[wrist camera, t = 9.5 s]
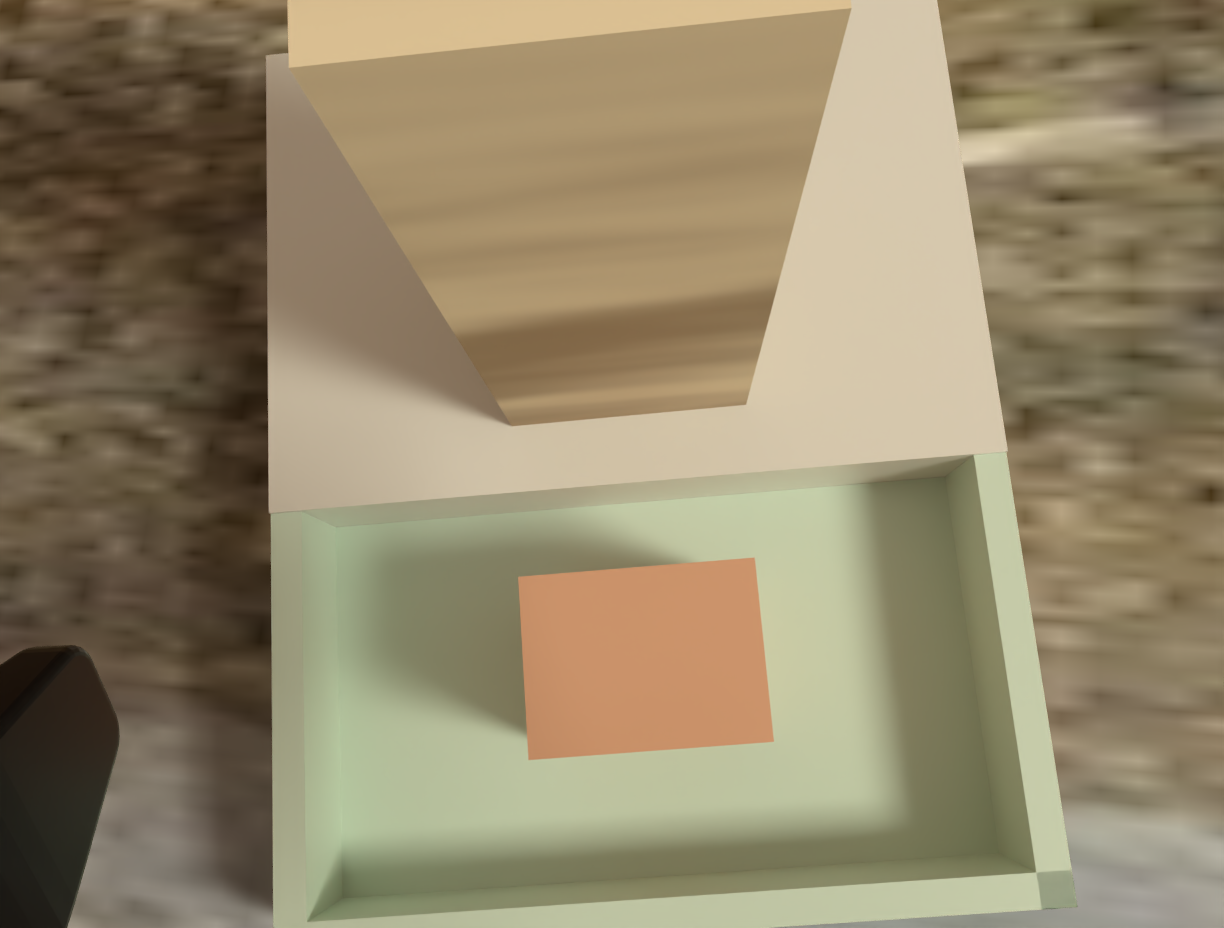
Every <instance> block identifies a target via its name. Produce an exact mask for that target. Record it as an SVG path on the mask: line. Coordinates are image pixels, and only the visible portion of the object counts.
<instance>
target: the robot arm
mask: <svg viewBox="0 0 1224 928" xmlns="http://www.w3.org/2000/svg"><path fill="white" fill-rule="evenodd" d="M119 738H120V735H119V724H118V720H117V716H116V714H115V711H114V709H113V707H112V704H111V702H110V700H109V697H108V695H107V693H106V691H105V688H104V686H103V684H102V681H101V679H100V677H99V674H98V672H97V670H96V668H95V665H94V663H93V661H92V659H91V657H90V655H89V654H88V653H87V652H86V651H85V650H84V649H82V648H81V647H77V646H73V645H67V646H44V647H33V648H28V649H25V650H23V651H21V652H19V653H18V654H16V655H15V656H13V657H12V658H10V659H9V660H7V661H6V662H4V663H3V664H1V665H0V928H67V926H68V923H69V920H70V917H71V913H72V910H73V907H74V904H75V901H76V897H77V894H78V890H79V887H80V883H81V880H82V876H83V872H84V869H85V865H86V862H87V858H88V855H89V851H90V848H91V844H92V840H93V837H94V833H95V830H96V826H97V823H98V819H99V816H100V812H101V809H102V805H103V801H104V798H105V794H106V791H107V787H108V784H109V780H110V777H111V773H112V769H113V766H114V762H115V759H116V755H117V751H118V747H119Z"/></svg>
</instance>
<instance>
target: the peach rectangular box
mask: <svg viewBox="0 0 1224 928" xmlns="http://www.w3.org/2000/svg"><path fill="white" fill-rule="evenodd" d="M518 584H519V601H520V619H521V637H522V654H523V672H524V690H525V707H526V725H527V743H528V760H537V759H551V758H564V757H577V756H591V755H604V754H618V753H631V752H644V751H658V750H671V749H685V748H698V747H711V746H725V745H738V744H752V743H765V742H774V737H773V728H772V718H771V709H770V699H769V689H768V680H767V670H766V661H765V651H764V641H763V632H762V622H761V613H760V603H759V593H758V584H757V574H756V565H755V558H742V559H730V560H718V561H706V562H693V563H681V564H669V565H657V566H644V567H632V568H620V569H607V570H595V571H583V572H571V573H558V574H546V575H534V576H522V577H518Z"/></svg>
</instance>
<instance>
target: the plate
mask: <svg viewBox="0 0 1224 928" xmlns="http://www.w3.org/2000/svg"><path fill="white" fill-rule="evenodd" d="M851 7H852V9H851V13H850V16H849V20H848V24H847V28H846V31H845V35H844V39H843V43H842V46H841V50H840V54H839V58H838V61H837V65H836V69H835V73H834V76H833V80H832V84H831V88H830V91H829V95H828V99H827V103H826V106H825V110H824V114H823V118H822V121H821V125H820V129H819V133H818V136H817V140H816V144H815V148H814V152H813V155H812V159H811V163H810V167H809V170H808V174H807V178H806V182H805V185H804V189H803V193H802V197H801V200H800V204H799V208H798V212H797V215H796V219H795V223H794V227H793V230H792V234H791V238H790V242H789V245H788V249H787V253H786V257H785V260H784V264H783V268H782V272H781V275H780V279H779V283H778V287H777V290H776V294H775V298H774V302H773V305H772V309H771V313H770V317H769V320H768V324H767V328H766V332H765V335H764V339H763V343H762V347H761V351H760V354H759V358H758V362H757V366H756V369H755V373H754V377H753V381H752V384H751V388H750V392H749V396H748V399H747V403H746V405H738V406H728V407H717V408H706V409H695V410H684V411H673V412H662V413H652V414H641V415H630V416H619V417H608V418H597V419H586V420H576V421H565V422H554V423H543V424H532V425H521V426H511V424H510V422H509V421H508V419H507V418H506V416H505V414H504V413H503V411H502V410H501V408H500V406H499V405H498V403H497V402H496V400H495V398H494V397H493V395H492V394H491V392H490V390H489V389H488V387H487V386H486V384H485V382H484V381H483V379H482V377H481V376H480V374H479V373H478V371H477V369H476V368H475V366H474V365H473V363H472V361H471V360H470V358H469V357H468V355H467V353H466V352H465V350H464V349H463V347H462V345H461V344H460V342H459V341H458V339H457V337H456V336H455V334H454V332H453V331H452V329H451V328H450V326H449V324H448V323H447V321H446V320H445V318H444V316H443V315H442V313H441V312H440V310H439V308H438V307H437V305H436V304H435V302H434V300H433V299H432V297H431V296H430V294H429V292H428V291H427V289H426V287H425V286H424V284H423V283H422V281H421V279H420V278H419V276H418V275H417V273H416V271H415V270H414V268H413V267H412V265H411V263H410V262H409V260H408V259H407V257H406V255H405V254H404V252H403V251H402V249H401V247H400V246H399V244H398V242H397V241H396V239H395V238H394V236H393V234H392V233H391V231H390V230H389V228H388V226H387V225H386V223H385V222H384V220H383V218H382V217H381V215H380V214H379V212H378V210H377V209H376V207H375V206H374V204H373V202H372V201H371V199H370V197H369V196H368V194H367V193H366V191H365V189H364V188H363V186H362V185H361V183H360V181H359V180H358V178H357V177H356V175H355V173H354V172H353V170H352V169H351V167H350V165H349V164H348V162H347V161H346V159H345V157H344V156H343V154H342V152H341V151H340V149H339V148H338V146H337V144H336V143H335V141H334V140H333V138H332V136H331V135H330V133H329V132H328V130H327V128H326V127H325V125H324V124H323V122H322V120H321V119H320V117H319V116H318V114H317V112H316V111H315V109H314V107H313V106H312V104H311V103H310V101H309V99H308V98H307V96H306V95H305V93H304V91H303V90H302V88H301V87H300V85H299V83H298V82H297V80H296V79H295V77H294V75H293V74H292V72H291V70H290V69H289V53H285V54H275V55H266V131H267V303H268V475H269V513H270V514H276V513H288V512H300V511H302V512H304V513H306V514H308V515H310V516H313V517H315V518H317V519H319V520H321V521H323V522H325V523H328V524H330V525H332V526H334V527H345V526H357V525H369V524H381V523H393V522H405V521H417V520H429V519H442V518H454V517H466V516H478V515H490V514H502V513H514V512H526V511H538V510H550V509H562V508H574V507H586V506H598V505H610V504H623V503H635V502H647V501H659V500H671V499H683V498H695V497H707V496H719V495H731V494H743V493H755V492H767V491H779V490H792V489H804V488H816V487H828V486H840V485H852V484H864V483H876V482H888V481H900V480H912V479H924V478H936V477H946V476H947V475H948V474H950V473H951V472H952V471H953V470H955V469H956V468H957V467H959V466H960V465H961V464H963V463H964V462H965V461H967V460H968V459H969V458H971V457H972V456H973V455H982V454H994V453H1006V452H1007V451H1008V450H1007V443H1006V437H1005V431H1004V424H1003V418H1002V411H1001V405H1000V399H999V392H998V386H997V380H996V373H995V367H994V361H993V354H992V348H991V341H990V335H989V329H988V322H987V316H986V310H985V303H984V297H983V291H982V284H981V278H980V271H979V265H978V259H977V252H976V246H975V240H974V233H973V227H972V221H971V214H970V208H969V201H968V195H967V189H966V182H965V176H964V170H963V163H962V157H961V151H960V144H959V138H958V131H957V125H956V119H955V112H954V106H953V100H952V93H951V87H950V81H949V74H948V68H947V61H946V55H945V49H944V42H943V36H942V30H941V23H940V17H939V11H938V4H937V0H851Z"/></svg>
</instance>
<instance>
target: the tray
mask: <svg viewBox="0 0 1224 928" xmlns="http://www.w3.org/2000/svg"><path fill="white" fill-rule="evenodd" d="M742 558H755V565H756V574H757V584H758V593H759V603H760V613H761V622H762V632H763V641H764V651H765V661H766V670H767V680H768V689H769V699H770V709H771V718H772V728H773V737H774V742H765V743H752V744H738V745H725V746H711V747H698V748H685V749H671V750H658V751H644V752H631V753H618V754H604V755H591V756H577V757H564V758H551V759H537V760H528V743H527V725H526V707H525V690H524V672H523V654H522V637H521V619H520V601H519V584H518V577H522V576H534V575H546V574H558V573H571V572H583V571H595V570H607V569H620V568H632V567H644V566H657V565H669V564H681V563H693V562H706V561H718V560H730V559H742ZM271 637H272V798H273V928H771V927H786V926H801V925H816V924H831V923H846V922H861V921H876V920H891V919H906V918H921V917H937V916H952V915H967V914H982V913H997V912H1012V911H1027V910H1042V909H1057V908H1072V907H1077V901H1076V895H1075V888H1074V882H1073V876H1072V869H1071V863H1070V856H1069V850H1068V844H1067V837H1066V831H1065V825H1064V818H1063V812H1062V805H1061V799H1060V793H1059V786H1058V780H1057V774H1056V767H1055V761H1054V754H1053V748H1052V742H1051V735H1050V729H1049V723H1048V716H1047V710H1046V703H1045V697H1044V691H1043V684H1042V678H1041V672H1040V665H1039V659H1038V652H1037V646H1036V640H1035V633H1034V627H1033V620H1032V614H1031V608H1030V601H1029V595H1028V589H1027V582H1026V576H1025V569H1024V563H1023V557H1022V550H1021V544H1020V538H1019V531H1018V525H1017V518H1016V512H1015V506H1014V499H1013V493H1012V487H1011V480H1010V474H1009V467H1008V461H1007V455H1006V453H994V454H982V455H973V456H972V457H971V458H969V459H968V460H967V461H965V462H964V463H963V464H961V465H960V466H959V467H957V468H956V469H955V470H953V471H952V472H951V473H950V474H948V475H947V476H946V477H936V478H924V479H912V480H900V481H888V482H876V483H864V484H852V485H840V486H828V487H816V488H804V489H792V490H779V491H767V492H755V493H743V494H731V495H719V496H707V497H695V498H683V499H671V500H659V501H647V502H635V503H623V504H610V505H598V506H586V507H574V508H562V509H550V510H538V511H526V512H514V513H502V514H490V515H478V516H466V517H454V518H442V519H429V520H417V521H405V522H393V523H381V524H369V525H357V526H345V527H334V526H332V525H330V524H328V523H325V522H323V521H321V520H319V519H317V518H315V517H313V516H310V515H308V514H306V513H304V512H302V511H300V512H288V513H276V514H271Z"/></svg>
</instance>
